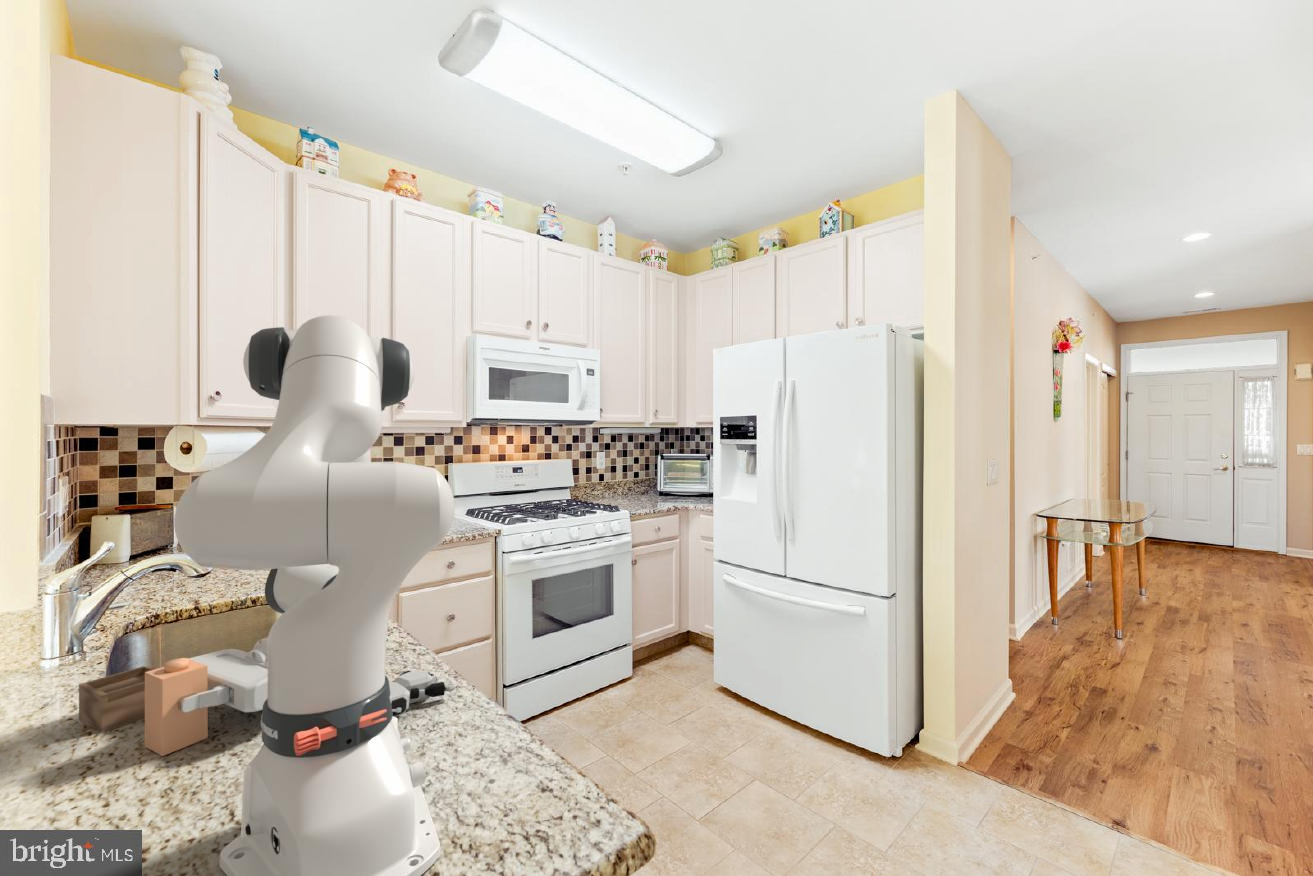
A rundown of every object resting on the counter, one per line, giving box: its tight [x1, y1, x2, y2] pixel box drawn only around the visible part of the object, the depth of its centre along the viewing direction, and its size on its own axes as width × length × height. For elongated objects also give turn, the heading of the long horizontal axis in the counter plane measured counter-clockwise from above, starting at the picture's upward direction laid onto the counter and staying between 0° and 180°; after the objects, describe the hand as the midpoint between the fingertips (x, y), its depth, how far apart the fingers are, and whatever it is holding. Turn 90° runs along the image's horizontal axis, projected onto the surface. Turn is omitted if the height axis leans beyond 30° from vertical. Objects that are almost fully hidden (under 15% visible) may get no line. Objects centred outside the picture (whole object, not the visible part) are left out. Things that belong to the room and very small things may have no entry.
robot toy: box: [389, 670, 456, 718], centre depth 86 cm, size 12×4×15 cm
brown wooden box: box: [78, 664, 157, 733], centre depth 84 cm, size 8×8×5 cm
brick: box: [144, 657, 209, 757], centre depth 76 cm, size 5×5×11 cm
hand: (168, 700), depth 75 cm, fingers closed on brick, 5 cm apart
